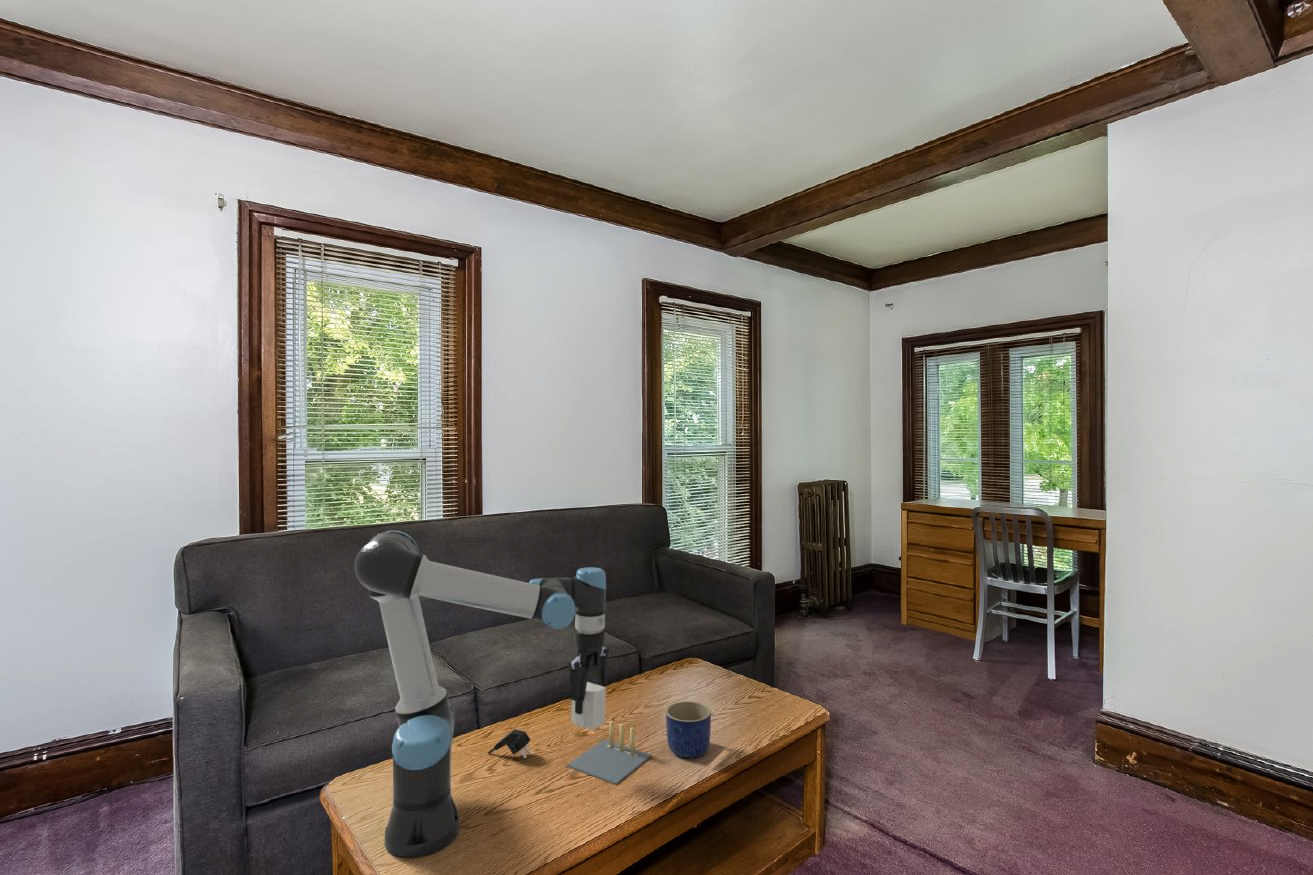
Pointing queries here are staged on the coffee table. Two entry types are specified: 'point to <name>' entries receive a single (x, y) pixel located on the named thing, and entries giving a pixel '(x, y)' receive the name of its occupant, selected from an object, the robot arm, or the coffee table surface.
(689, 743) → the planter
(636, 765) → the board
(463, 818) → the coffee table surface
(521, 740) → the power plug
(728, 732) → the coffee table surface
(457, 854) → the coffee table surface
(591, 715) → the block
